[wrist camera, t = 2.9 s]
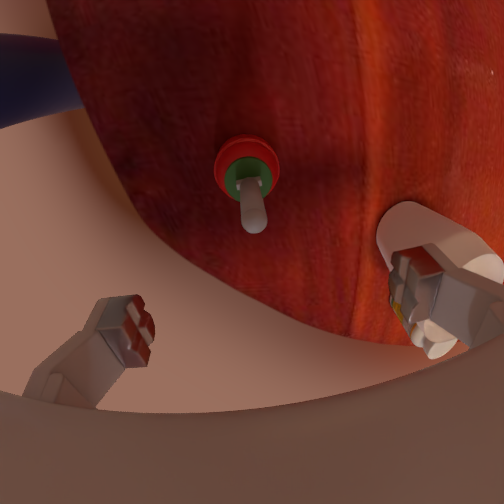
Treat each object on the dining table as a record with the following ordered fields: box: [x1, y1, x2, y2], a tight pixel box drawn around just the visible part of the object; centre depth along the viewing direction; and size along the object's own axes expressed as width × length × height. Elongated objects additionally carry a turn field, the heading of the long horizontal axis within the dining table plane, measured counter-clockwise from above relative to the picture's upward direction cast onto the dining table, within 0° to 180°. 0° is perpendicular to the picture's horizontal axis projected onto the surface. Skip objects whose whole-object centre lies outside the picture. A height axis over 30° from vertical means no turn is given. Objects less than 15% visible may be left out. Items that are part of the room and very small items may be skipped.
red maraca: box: [214, 134, 280, 233], centre depth 18 cm, size 5×5×12 cm
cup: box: [376, 201, 504, 343], centre depth 22 cm, size 9×9×12 cm
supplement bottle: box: [390, 295, 457, 359], centre depth 27 cm, size 5×5×10 cm
